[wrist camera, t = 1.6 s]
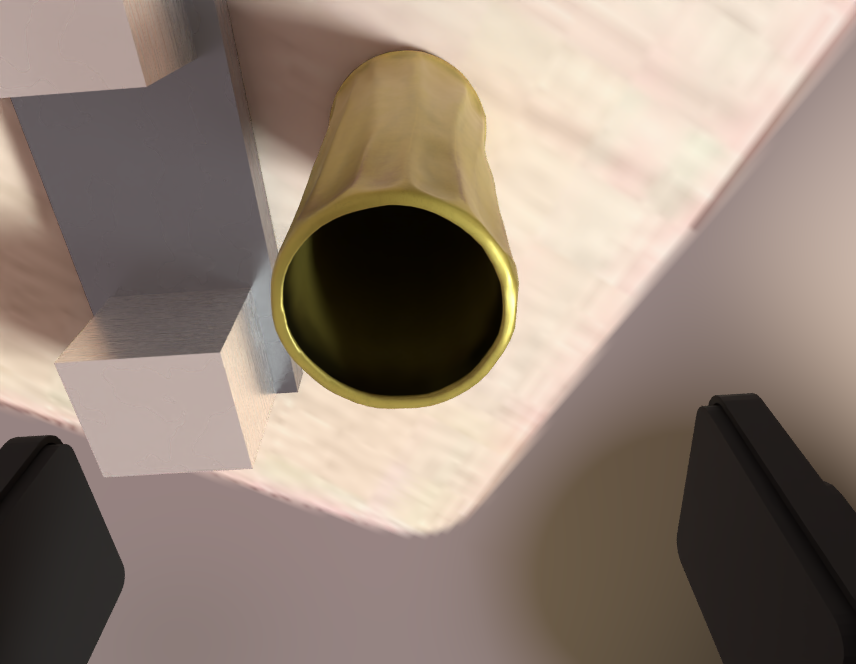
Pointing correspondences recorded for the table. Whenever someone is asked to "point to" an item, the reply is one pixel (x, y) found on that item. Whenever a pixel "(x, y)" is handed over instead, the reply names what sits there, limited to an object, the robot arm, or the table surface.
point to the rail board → (154, 225)
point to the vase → (398, 243)
